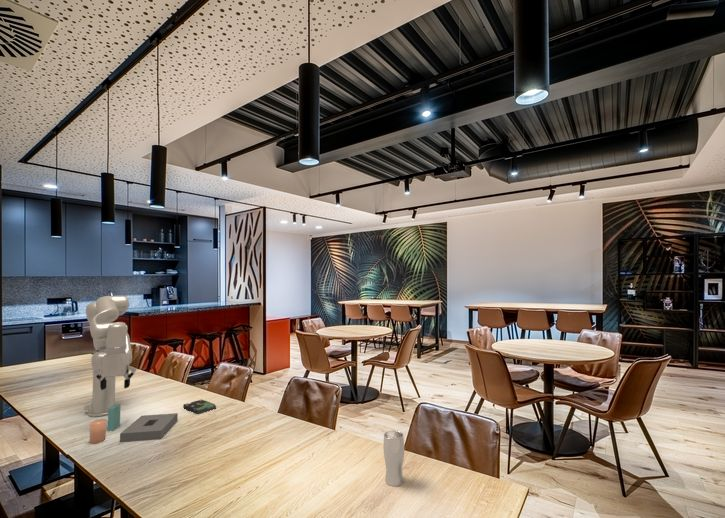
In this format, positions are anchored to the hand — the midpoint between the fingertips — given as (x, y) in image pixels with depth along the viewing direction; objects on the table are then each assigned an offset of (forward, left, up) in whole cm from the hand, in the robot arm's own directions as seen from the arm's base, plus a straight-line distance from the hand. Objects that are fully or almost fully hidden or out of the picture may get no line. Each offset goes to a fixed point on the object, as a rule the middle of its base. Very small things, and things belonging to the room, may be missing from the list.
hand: (115, 388), depth 163 cm
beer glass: (+116, -65, -18) cm, 134 cm away
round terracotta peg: (0, -13, -18) cm, 22 cm away
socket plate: (+18, -6, -18) cm, 26 cm away
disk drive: (+32, +19, -19) cm, 42 cm away
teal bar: (0, 0, -18) cm, 18 cm away
